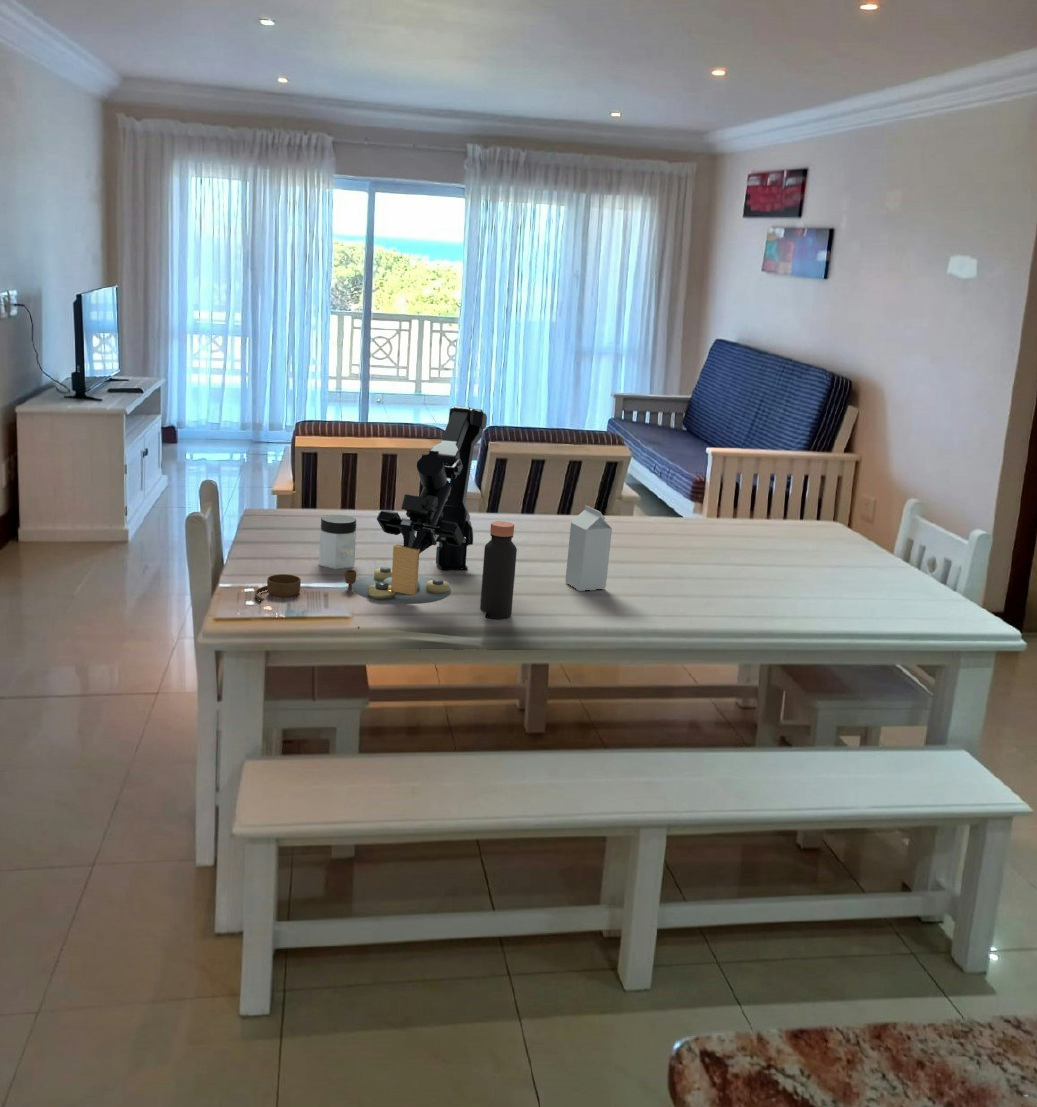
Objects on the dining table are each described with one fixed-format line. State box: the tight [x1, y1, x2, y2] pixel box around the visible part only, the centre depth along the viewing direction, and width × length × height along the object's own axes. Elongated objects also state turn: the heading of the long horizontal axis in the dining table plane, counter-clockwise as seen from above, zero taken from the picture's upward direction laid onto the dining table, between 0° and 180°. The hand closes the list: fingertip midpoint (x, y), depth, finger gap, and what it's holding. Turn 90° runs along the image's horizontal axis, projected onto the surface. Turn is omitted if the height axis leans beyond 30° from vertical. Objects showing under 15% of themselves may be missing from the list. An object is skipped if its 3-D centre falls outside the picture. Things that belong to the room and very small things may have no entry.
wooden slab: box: [368, 544, 420, 600], centre depth 231 cm, size 11×6×12 cm, turn 71°
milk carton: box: [564, 504, 613, 592], centre depth 255 cm, size 7×7×19 cm
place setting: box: [254, 569, 357, 602], centre depth 231 cm, size 18×20×6 cm
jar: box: [318, 514, 357, 570], centre depth 254 cm, size 9×8×12 cm
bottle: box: [479, 520, 518, 620], centre depth 230 cm, size 7×7×20 cm
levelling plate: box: [351, 566, 452, 605], centre depth 241 cm, size 22×22×3 cm
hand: (405, 560), depth 231 cm, fingers closed, pressing on wooden slab
